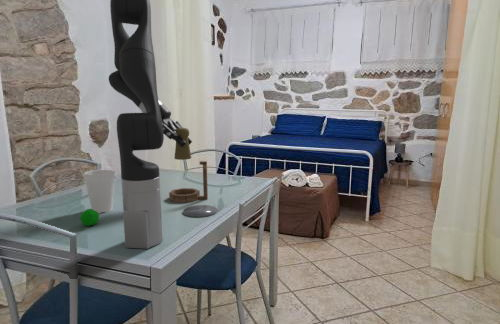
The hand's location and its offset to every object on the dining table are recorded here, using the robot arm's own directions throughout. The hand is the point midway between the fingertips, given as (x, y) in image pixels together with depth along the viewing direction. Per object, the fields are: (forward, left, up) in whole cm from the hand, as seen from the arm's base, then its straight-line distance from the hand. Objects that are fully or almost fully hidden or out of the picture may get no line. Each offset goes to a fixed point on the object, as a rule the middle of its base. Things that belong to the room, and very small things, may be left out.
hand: (187, 144), depth 130 cm
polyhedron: (-31, +21, -21) cm, 42 cm away
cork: (0, +2, -5) cm, 6 cm away
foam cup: (-17, +25, -20) cm, 36 cm away
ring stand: (0, 0, -20) cm, 20 cm away
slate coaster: (-15, -8, -20) cm, 26 cm away
